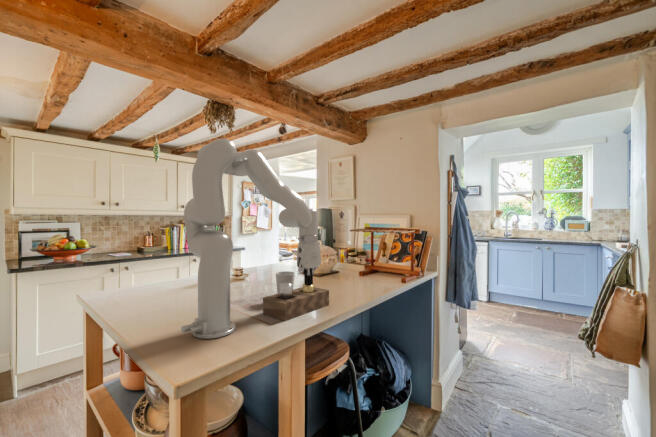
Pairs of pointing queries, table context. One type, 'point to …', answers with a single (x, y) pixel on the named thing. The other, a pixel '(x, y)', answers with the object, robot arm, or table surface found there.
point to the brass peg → (308, 288)
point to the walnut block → (295, 303)
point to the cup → (284, 278)
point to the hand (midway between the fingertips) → (308, 284)
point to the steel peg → (286, 290)
